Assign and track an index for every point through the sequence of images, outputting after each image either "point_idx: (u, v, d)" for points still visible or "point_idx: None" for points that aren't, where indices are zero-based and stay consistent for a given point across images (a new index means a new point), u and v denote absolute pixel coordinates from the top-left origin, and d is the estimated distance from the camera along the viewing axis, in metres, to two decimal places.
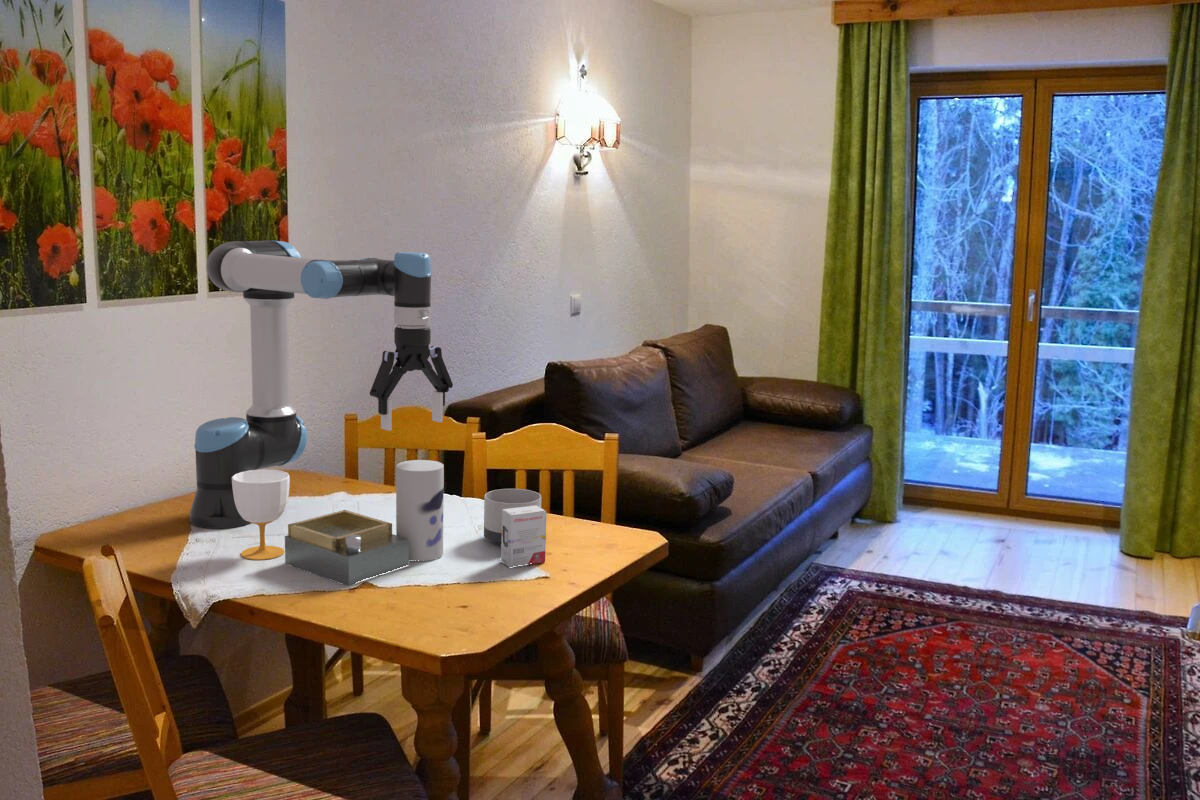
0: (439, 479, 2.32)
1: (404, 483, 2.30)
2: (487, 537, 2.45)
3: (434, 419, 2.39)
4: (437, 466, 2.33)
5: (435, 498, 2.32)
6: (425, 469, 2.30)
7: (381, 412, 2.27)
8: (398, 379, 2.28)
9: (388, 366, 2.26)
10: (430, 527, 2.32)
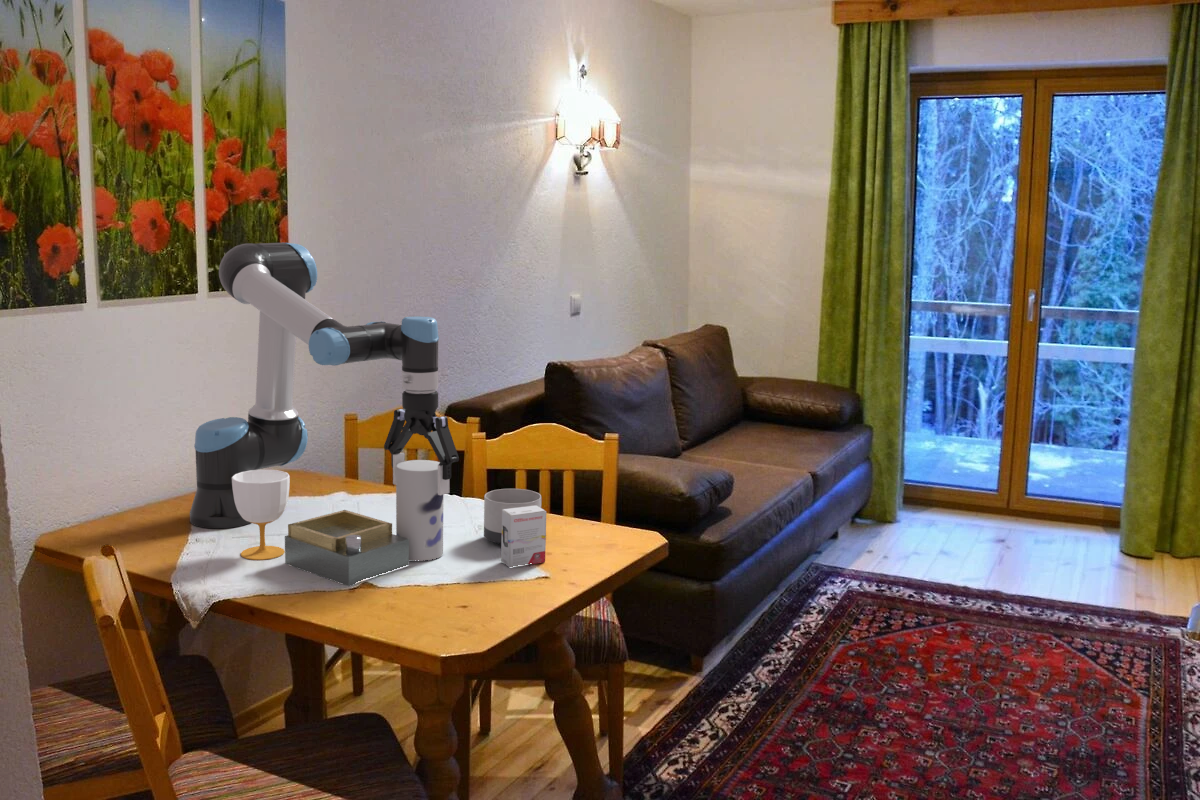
0: None
1: (404, 483, 2.30)
2: (487, 537, 2.45)
3: None
4: (437, 466, 2.33)
5: (435, 498, 2.32)
6: (425, 469, 2.30)
7: None
8: (401, 438, 2.35)
9: (393, 422, 2.36)
10: (430, 527, 2.32)
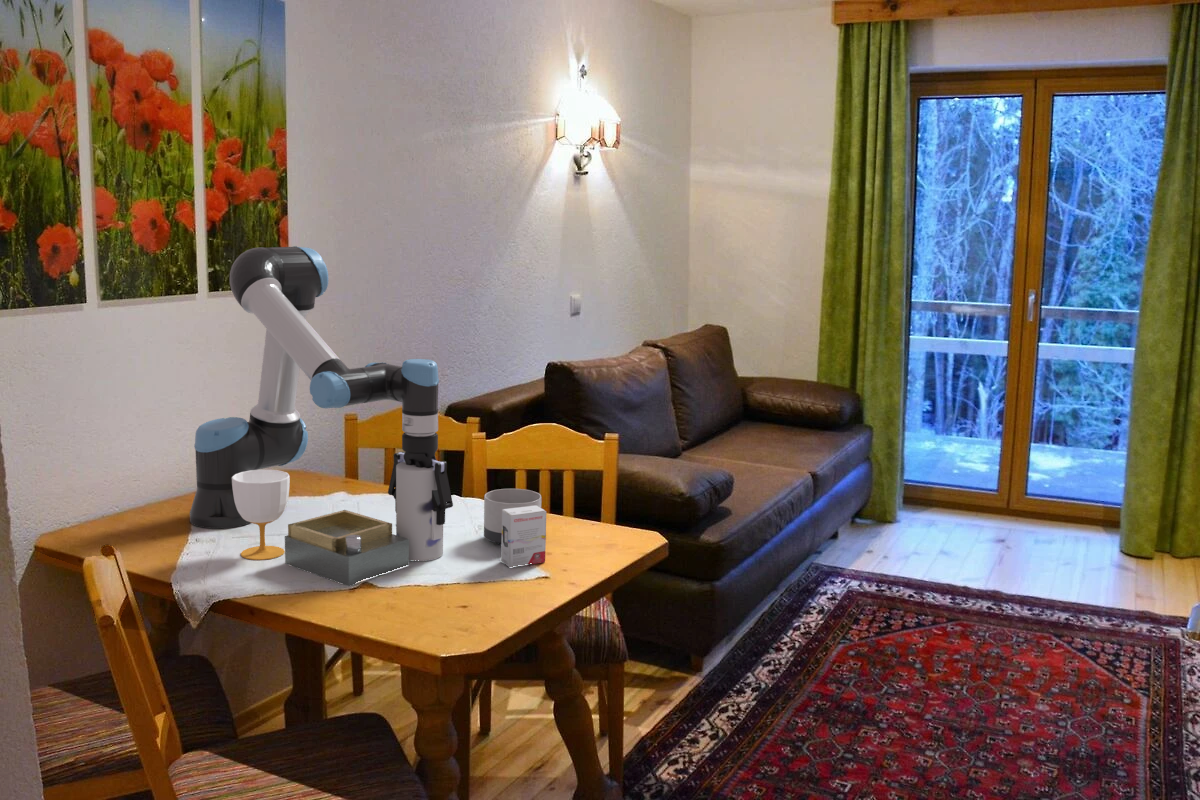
0: None
1: (404, 482, 2.30)
2: (487, 537, 2.45)
3: None
4: None
5: None
6: (425, 469, 2.30)
7: None
8: None
9: (394, 466, 2.37)
10: (430, 527, 2.32)
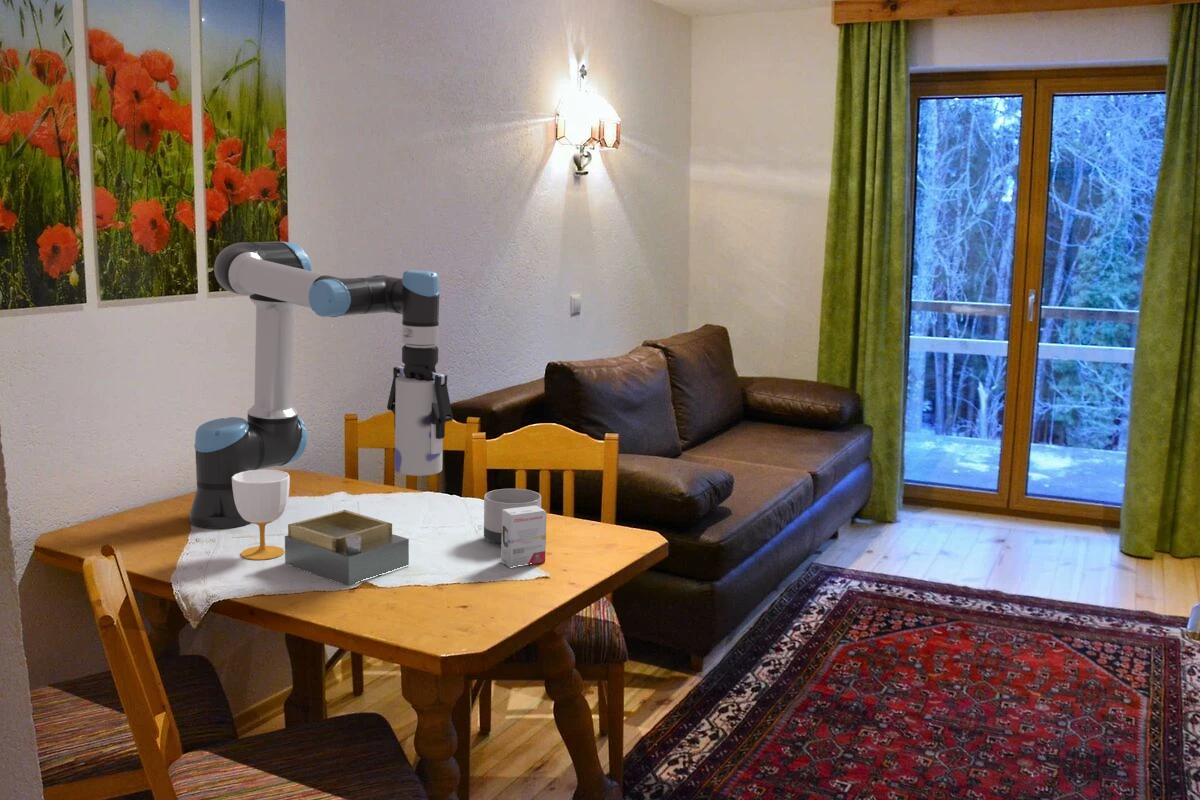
0: None
1: (404, 395, 2.27)
2: (487, 537, 2.45)
3: None
4: None
5: None
6: (425, 381, 2.27)
7: None
8: None
9: (393, 380, 2.34)
10: (429, 441, 2.29)
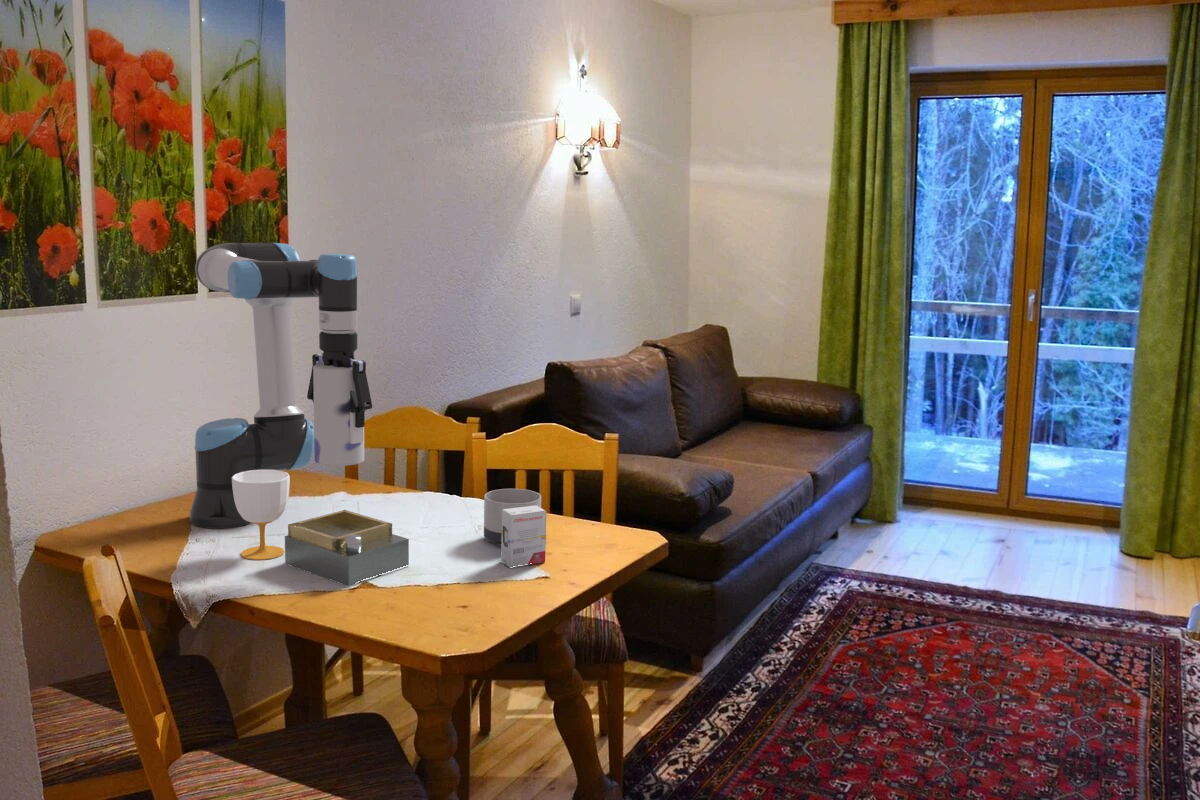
0: None
1: (321, 382, 2.19)
2: (487, 537, 2.45)
3: None
4: None
5: None
6: (342, 368, 2.19)
7: None
8: None
9: (312, 368, 2.26)
10: (348, 430, 2.21)
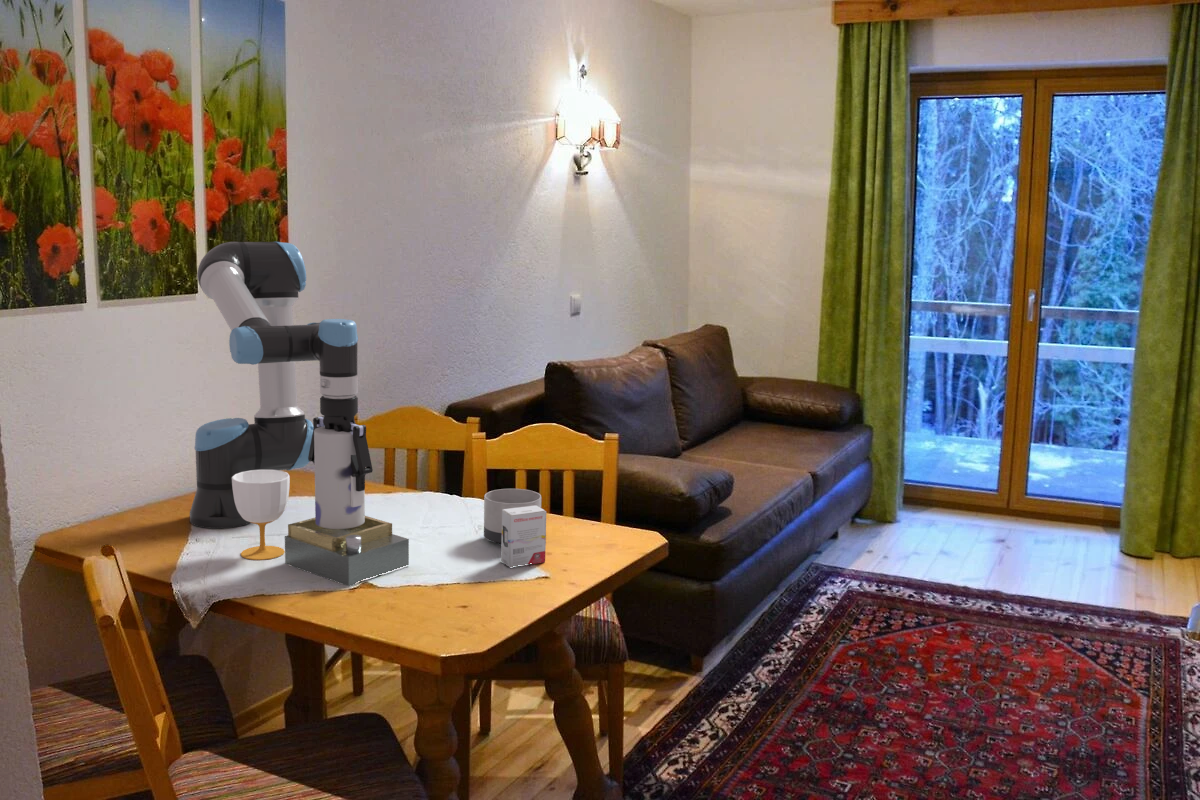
0: None
1: (322, 447, 2.21)
2: (487, 537, 2.45)
3: None
4: None
5: None
6: (343, 433, 2.21)
7: None
8: None
9: (313, 431, 2.28)
10: (349, 493, 2.23)
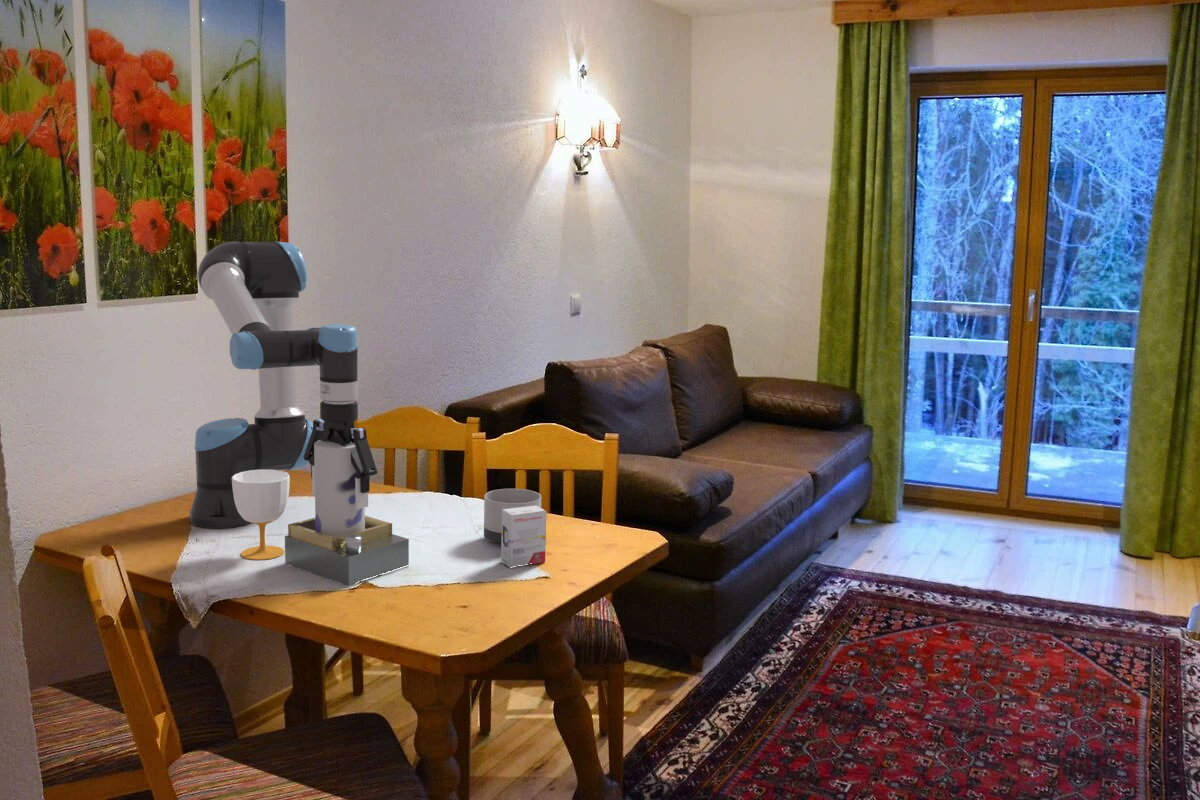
0: None
1: (322, 460, 2.22)
2: (487, 537, 2.45)
3: None
4: None
5: (354, 477, 2.24)
6: (343, 446, 2.22)
7: None
8: None
9: (312, 433, 2.29)
10: (349, 506, 2.24)
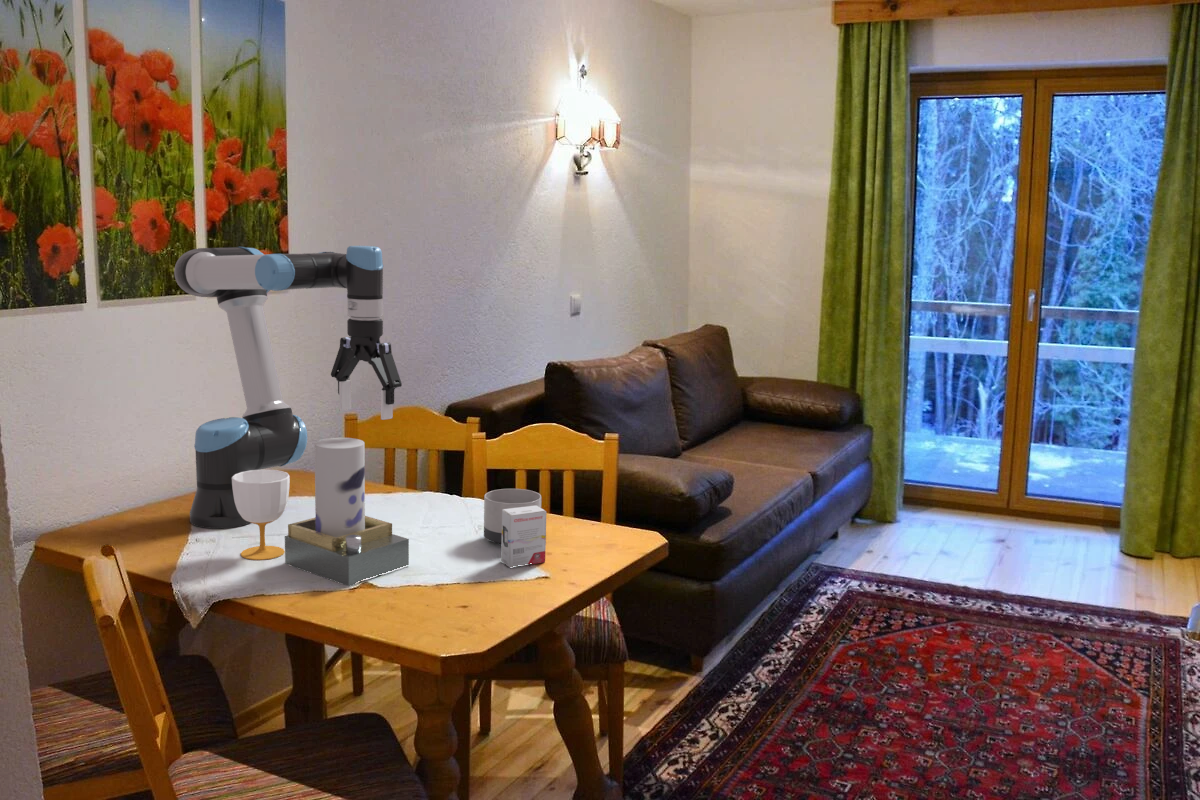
0: (359, 457, 2.24)
1: (322, 460, 2.22)
2: (487, 537, 2.45)
3: None
4: (357, 443, 2.25)
5: (354, 477, 2.24)
6: (343, 446, 2.22)
7: None
8: (347, 365, 2.41)
9: (339, 350, 2.42)
10: (349, 506, 2.24)
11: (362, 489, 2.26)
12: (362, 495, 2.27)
